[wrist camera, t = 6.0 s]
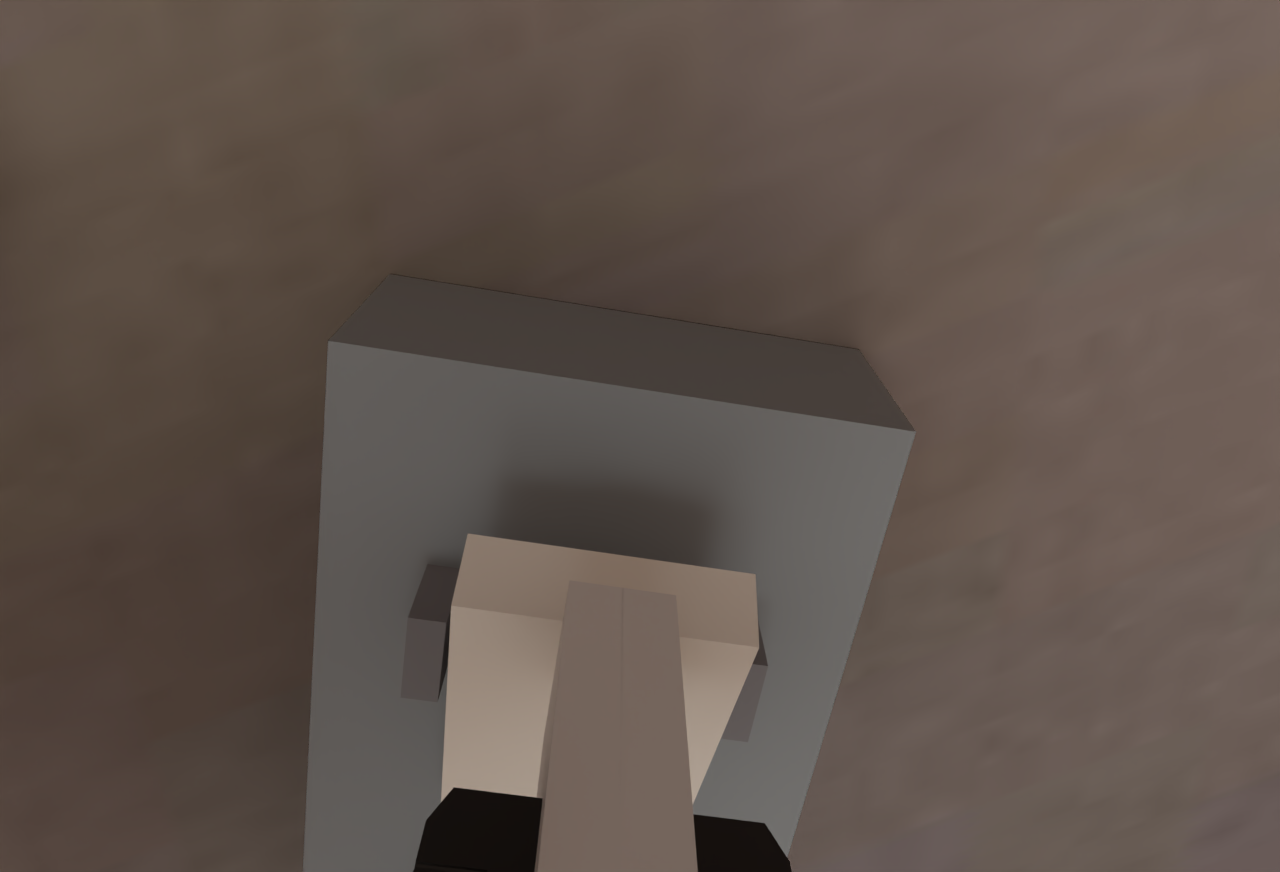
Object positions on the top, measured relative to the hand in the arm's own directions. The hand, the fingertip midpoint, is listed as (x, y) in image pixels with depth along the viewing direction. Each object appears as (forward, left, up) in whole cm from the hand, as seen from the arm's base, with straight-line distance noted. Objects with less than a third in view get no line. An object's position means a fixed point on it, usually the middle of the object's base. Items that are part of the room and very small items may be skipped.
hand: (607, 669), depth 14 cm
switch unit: (0, -8, -11) cm, 13 cm away
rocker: (0, -3, -4) cm, 5 cm away
